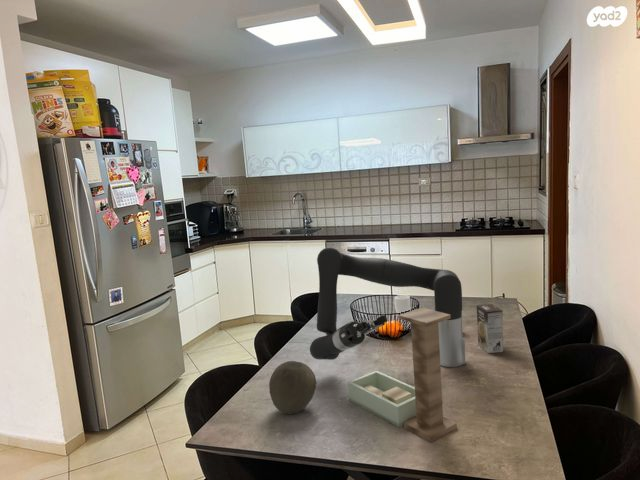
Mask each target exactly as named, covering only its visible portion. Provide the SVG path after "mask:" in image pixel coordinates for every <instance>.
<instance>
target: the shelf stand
mask: <svg viewBox="0 0 640 480" xmlns="http://www.w3.org/2000/svg"><path fill="white" fill-rule="evenodd" d="M398 316H399V319H401V320H405V321H408V322H410V331H411V332H410V333H411V345H412V347H411V348H412V361H413V362H412V363H413V364H412V365H413V381H414V382H413V383H414V387H415V401H416V416H415V417H413V418H411V419H409V420H407V421H405V422H404V425H403V428H405V429H406V430H408V431H410V432H412V433H414V434H416V435H417V436H419V437H421V438H423V439H425V440H426V441H428V442H430V443H434V442H435V441H437V440H438V439H441V438H442V437H444V436H445V435H447V434H449V433H452V432H454V431H455V430H456V429H458V426H457V425H458V424H457V422H455V421H453V420H451V419H450V418H447V417H445V416H444V411H443V410H444V409H443V394H442V393H443V391H442V390H443V389H442V372H441V371H442V370H441V367H442V366H441V365H440V347H439V327H438V323H439V322H442V321H445V320H447V319H450V318H451V315H450V314H446V313H442V312H438V311H435V309H429V308H426V307H420V308H419V307H418V308H417V309H412V310H410V312H407V313H404V314H401V315H398Z"/></svg>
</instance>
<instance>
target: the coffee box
mask: <svg viewBox="0 0 640 480" xmlns="http://www.w3.org/2000/svg"><path fill="white" fill-rule="evenodd" d="M503 313H504V312H503V310H502V309H501V308H499V307H498V306H496V305H494V304H493V303H489V304H488V303H487V304H486V303H484V304H478V305H477V304H476V318H477V319H476V320H477V322H476V323H477V325H476V326H477V342H478V343H477V344H478V346H479V347H480V348H481V349H482V350H484V351H485V352H486V353H487V354H492V353H502V352H504V322H503V315H504V314H503Z"/></svg>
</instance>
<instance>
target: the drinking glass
mask: <svg viewBox="0 0 640 480" xmlns="http://www.w3.org/2000/svg"><path fill="white" fill-rule="evenodd" d="M408 310H410V311H411V297H410V295H407V294H399V295H396V296H394V311H395V314H396V313H401V312H405V311H408Z"/></svg>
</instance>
